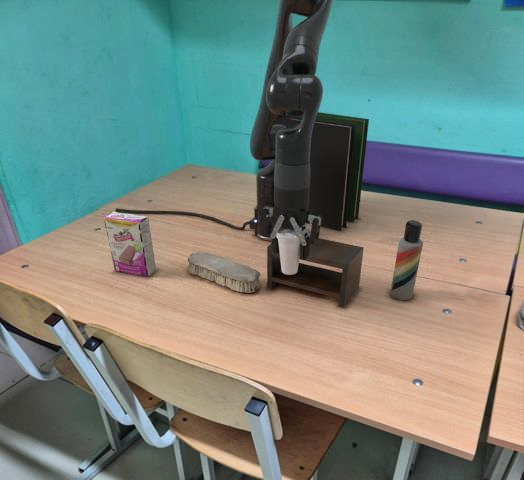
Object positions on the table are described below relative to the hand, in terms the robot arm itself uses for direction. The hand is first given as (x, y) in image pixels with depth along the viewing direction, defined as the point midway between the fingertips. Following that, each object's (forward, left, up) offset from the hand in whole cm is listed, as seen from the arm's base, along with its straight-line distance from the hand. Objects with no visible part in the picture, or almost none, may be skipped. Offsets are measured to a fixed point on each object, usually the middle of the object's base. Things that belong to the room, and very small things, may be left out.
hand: (289, 255), depth 113 cm
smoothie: (0, 0, -4) cm, 4 cm away
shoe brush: (-24, +7, -16) cm, 30 cm away
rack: (0, +14, -16) cm, 21 cm away
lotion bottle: (+22, +22, -16) cm, 35 cm away
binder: (-20, +61, -16) cm, 66 cm away
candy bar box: (-49, 0, -16) cm, 51 cm away
